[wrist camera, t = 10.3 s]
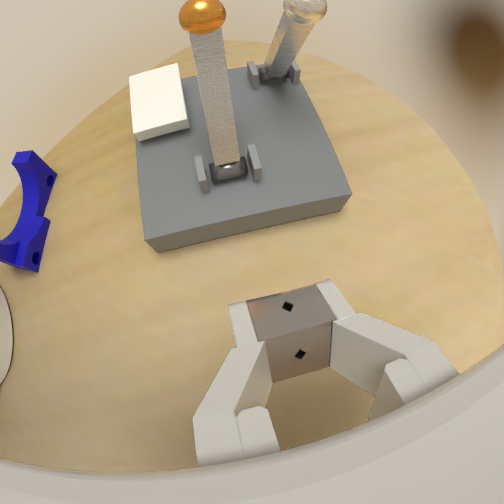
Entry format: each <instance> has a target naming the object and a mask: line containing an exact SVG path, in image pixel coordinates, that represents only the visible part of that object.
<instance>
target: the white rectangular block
mask: <svg viewBox="0 0 504 504" xmlns="http://www.w3.org/2000/svg"><path fill="white" fill-rule="evenodd" d="M129 84H130V100H131V113H132V124H133V134H134V135H135V137H136V138H137V139H138V141H142V140H146V139H149V138H153V137H156V136H160V135H163V134H167V133H171V132H175V131H179V130H183V129H187V128H190V126H189V120H188V115H187V110H186V104H185V99H184V93H183V88H182V82H181V76H180V71H179V67H178V63H176V64H172V65H168V66H164V67H160V68H157V69H153V70H150V71H146V72H143V73H140V74H136V75H133V76H130V77H129Z"/></svg>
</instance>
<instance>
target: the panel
mask: <svg viewBox="0 0 504 504" xmlns="http://www.w3.org/2000/svg"><path fill="white" fill-rule="evenodd" d="M259 67H264V64H263V65H254V62H253V61H250V62H247V67H241V68H234V69H228V70H227V72H228V79H229V86H230V93H231V100H232V107H233V114H234V121H235V128H236V135H237V141H238V149H239V156H245V159H246V162H247V167H248V174H247V175H242V176H238V177H233V178H229V179H224V180H220V181H215V182H212V179H211V174H210V169H209V165H208V163H212V162H214V159H213V154H212V149H211V144H210V139H209V134H208V129H207V124H206V119H205V114H204V109H203V104H202V99H201V94H200V89H199V83H198V78H197V76H192V77H188V78H184V79H181V82H182V88H183V93H184V99H185V104H186V110H187V115H188V120H189V126H190V128H187V129H183V130H179V131H175V132H171V133H167V134H163V135H160V136H156V137H153V138H149V139H146V140H142V141H138V139H137V138H136V156H137V171H138V184H139V195H140V206H141V215H142V224H143V232H144V240H145V241H146V242H147V243H148V244H149V245H150V246H151V247H152V248H153V249H154V250H156V251H157V252H158V253H160V252H164V251H168V250H172V249H176V248H180V247H185V246H189V245H193V244H197V243H201V242H205V241H210V240H214V239H218V238H222V237H227V236H231V235H235V234H240V233H244V232H248V231H253V230H257V229H261V228H266V227H270V226H275V225H279V224H284V223H288V222H293V221H297V220H302V219H306V218H311V217H315V216H320V215H325V214H329V213H334V212H339V211H341V209H342V208H343V206H344V205H345V203H346V202H347V201H348V199H349V198H350V196H351V195H352V192H351V189H350V187H349V184H348V182H347V179H346V177H345V174H344V172H343V169H342V167H341V165H340V162H339V160H338V158H337V155H336V153H335V151H334V149H333V146H332V144H331V142H330V140H329V137H328V135H327V133H326V131H325V129H324V127H323V124H322V122H321V120H320V118H319V116H318V114H317V112H316V110H315V108H314V106H313V104H312V102H311V100H310V98H309V96H308V94H307V92H306V90H305V88H304V86H303V84H302V83H301V81H300V79H299V77H300V71H301V70H300V68H299V66H298V65H297V63H296V61H295V59H294V60H293V62H292V64H291V66H290V67H289V78H287V79H277V80H269V81H261V82H260V81H259V74H258V71H257V69H258V68H259Z"/></svg>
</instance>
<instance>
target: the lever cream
mask: <svg viewBox="0 0 504 504" xmlns="http://www.w3.org/2000/svg"><path fill="white" fill-rule="evenodd" d="M283 7H284V12H283V15H282V18H281V20H280V23H279V25H278V28H277V31H276V33H275V36H274V38H273V41H272V44H271V47H270V49H269V52H268V55H267V57H266V60H265V63H264V67H259V68H258V69H257V71H258V74H259V81H260V82H261V81H269V80H277V79H287V78H289V67H290V66H291V64H292V62H293V60H294V59H295V57H296V55H297V53H298V52H299V50H300V48H301V47H302V45H303V43H304V41H305V40H306V38H307V36H308V34H309V33H310V31H311V30H312V28H313V26H314V25H315V23H316V22H318V21H320V20H321V19H322V18H323V17H324V16H325V14H326V12H327V3H326V0H284V2H283Z"/></svg>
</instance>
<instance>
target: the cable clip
mask: <svg viewBox="0 0 504 504" xmlns="http://www.w3.org/2000/svg"><path fill="white" fill-rule="evenodd" d="M12 165H13V166H14V167H15V168H16V170H17V171H18V173H19V176H20V178H21V182H22V188H23V204H22V210H21V214H20V217H19V220H18V222H17V224H16V226H15V228H14V229H13V231H12V232H11V233H10V234H9V235H8V236H7V237H6V238H4V239H3V240H1V241H0V261H1V262H3V263H6V264H8V265H11V266H14V267H18V268H22V269H26V270H31V271H35V272H38V271H39V266H40V261H41V257H42V252H43V248H44V244H45V240H46V236H47V232H48V228H49V225H50V220H48V219H47V218H45V217H43V215H44V212H45V208H46V205H47V202H48V199H49V196H50V193H51V190H52V187H53V184H54V182H55V179H56V176H57V174H56V173H55V172H54V171H53V170H52V169H51V168H50V167H49V166H48V165H47V164H46V163H45V162H44V161H43V160H42V159H41V158H40V157H39V156H38V155H37V154H36V153H35V152H34V151H32V150H31V151H23V152H16V155H15V157H14V159H13V161H12Z"/></svg>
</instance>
